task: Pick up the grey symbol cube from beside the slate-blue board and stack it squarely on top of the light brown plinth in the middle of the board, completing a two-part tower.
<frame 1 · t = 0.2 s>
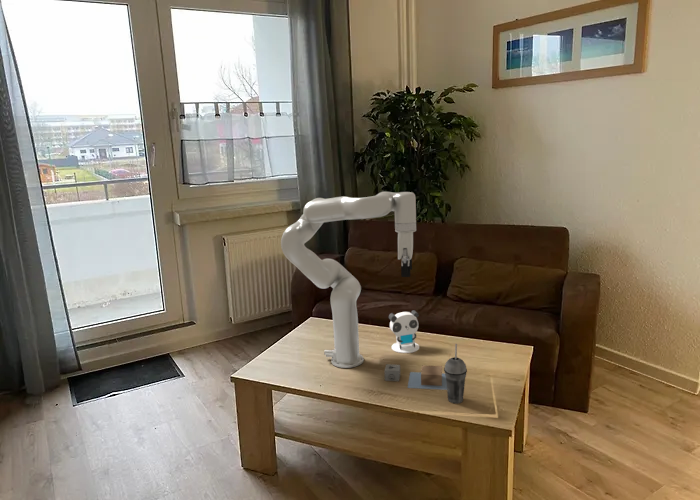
hand: (406, 273, 193), 36 cm above the table, tool pointing down, fingers open, 9 cm apart
panda figurine: (404, 348, 217), on the table
grey symbol cube: (392, 381, 189), on the table
blue board: (431, 383, 186), on the table
light brown plinth: (431, 380, 185), resting on blue board
beverage cup: (455, 403, 172), on the table
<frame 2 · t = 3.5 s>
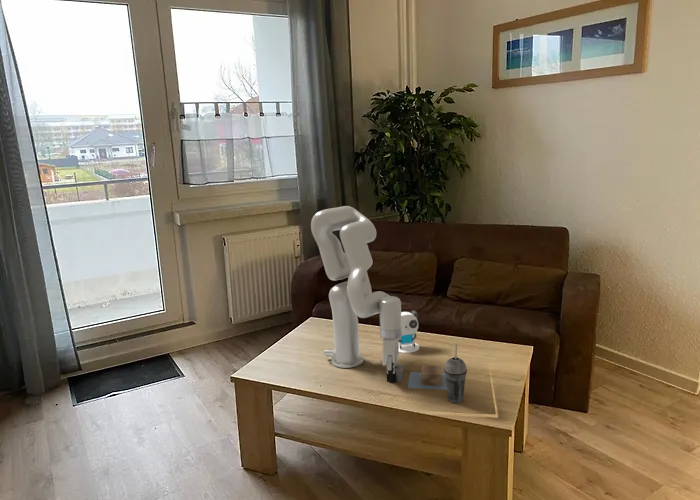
hand: (392, 379, 189), 0 cm above the table, tool pointing down, fingers closed on grey symbol cube, 5 cm apart
grey symbol cube: (395, 380, 189), on the table, touching gripper
everything else where it was.
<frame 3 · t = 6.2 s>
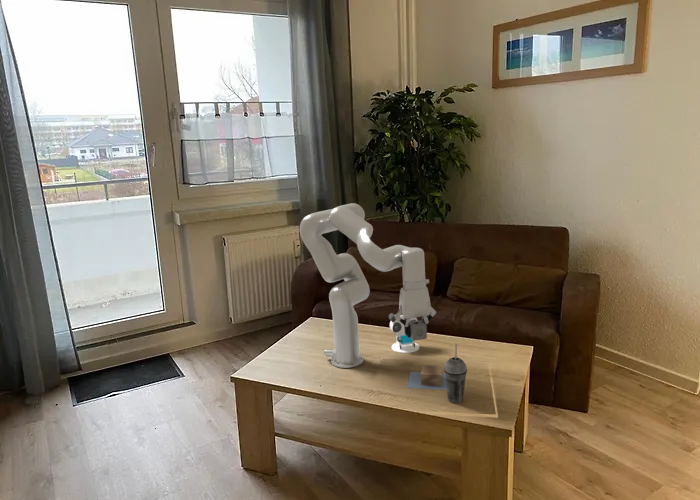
hand: (416, 334, 182), 18 cm above the table, tool pointing down, fingers closed on grey symbol cube, 5 cm apart
grey symbol cube: (417, 337, 181), point 17 cm above the table, touching gripper
everything else where it was.
when the fingers open (7 cm above the table, at t = 8.9 s): grey symbol cube drops 1 cm, resting on light brown plinth.
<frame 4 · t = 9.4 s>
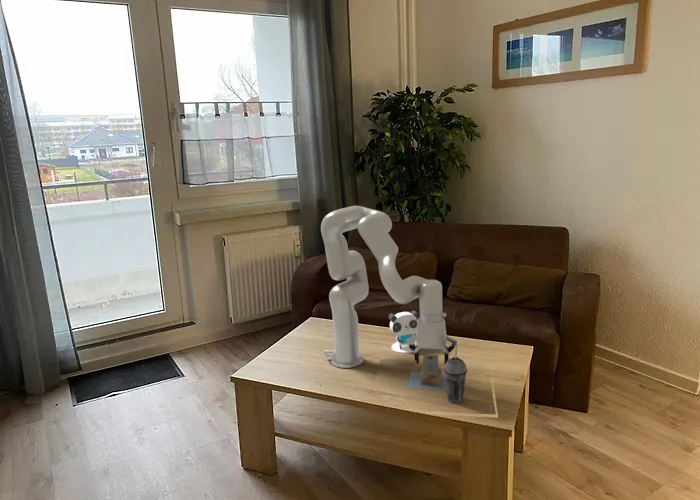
hand: (431, 362, 184), 8 cm above the table, tool pointing down, fingers open, 9 cm apart
grey symbol cube: (430, 372, 183), point 5 cm above the table, touching light brown plinth
everything else where it was.
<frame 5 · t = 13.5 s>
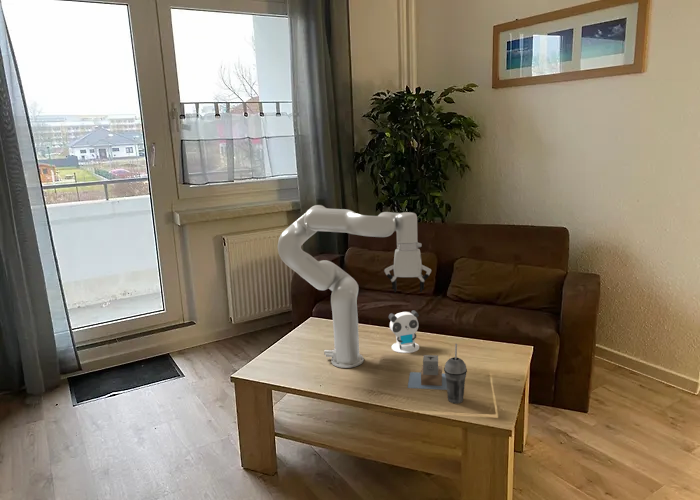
hand: (408, 291, 197), 28 cm above the table, tool pointing down, fingers open, 9 cm apart
nothing on the table moved.
at the end: grey symbol cube 1.2 cm off-centre on the light brown plinth, point 3.8 cm above the light brown plinth's base; grey symbol cube tilted 0°; the gripper is holding nothing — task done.
